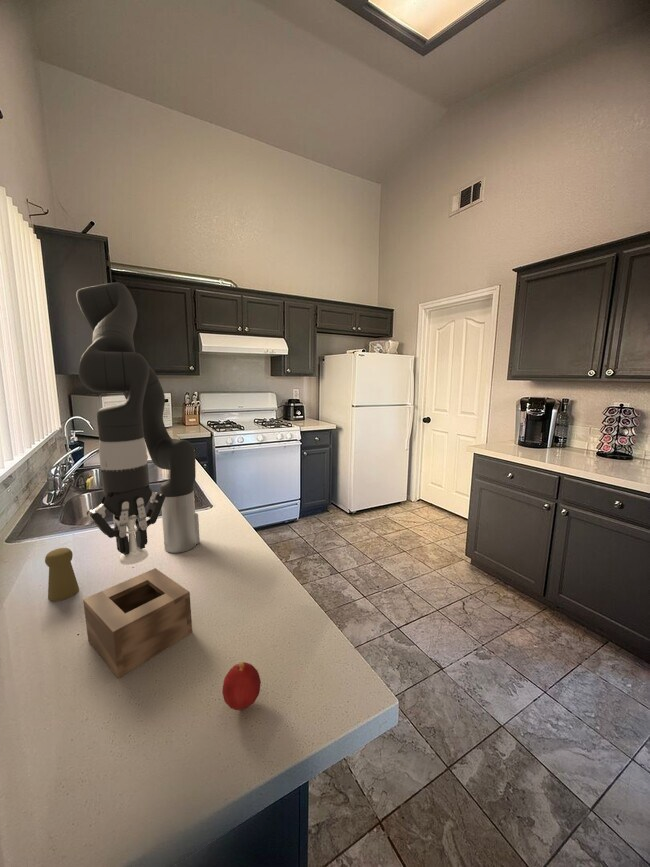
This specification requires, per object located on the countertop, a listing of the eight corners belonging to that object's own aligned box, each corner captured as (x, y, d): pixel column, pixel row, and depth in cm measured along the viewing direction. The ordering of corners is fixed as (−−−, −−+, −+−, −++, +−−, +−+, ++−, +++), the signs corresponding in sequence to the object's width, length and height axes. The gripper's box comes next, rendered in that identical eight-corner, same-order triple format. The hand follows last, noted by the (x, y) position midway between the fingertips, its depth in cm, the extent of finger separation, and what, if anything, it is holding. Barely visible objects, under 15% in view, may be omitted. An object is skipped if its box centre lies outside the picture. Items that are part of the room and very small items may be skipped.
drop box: (158, 604, 79) (155, 568, 78) (192, 632, 71) (189, 591, 69) (88, 640, 69) (83, 599, 67) (118, 678, 60) (113, 631, 59)
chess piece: (154, 553, 69) (149, 505, 67) (133, 566, 64) (127, 515, 62) (134, 549, 70) (130, 502, 68) (113, 562, 66) (107, 511, 64)
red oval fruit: (227, 691, 58) (225, 648, 56) (262, 688, 58) (261, 646, 57) (220, 726, 52) (217, 679, 51) (259, 723, 52) (257, 676, 51)
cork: (62, 602, 80) (56, 558, 78) (41, 599, 81) (34, 555, 79) (85, 587, 86) (80, 545, 84) (65, 584, 87) (59, 543, 85)
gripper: (152, 453, 72) (159, 532, 74) (72, 467, 61) (84, 559, 64) (171, 458, 67) (177, 542, 70) (88, 474, 56) (100, 573, 59)
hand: (133, 550), depth 67 cm, fingers closed on chess piece, 2 cm apart
